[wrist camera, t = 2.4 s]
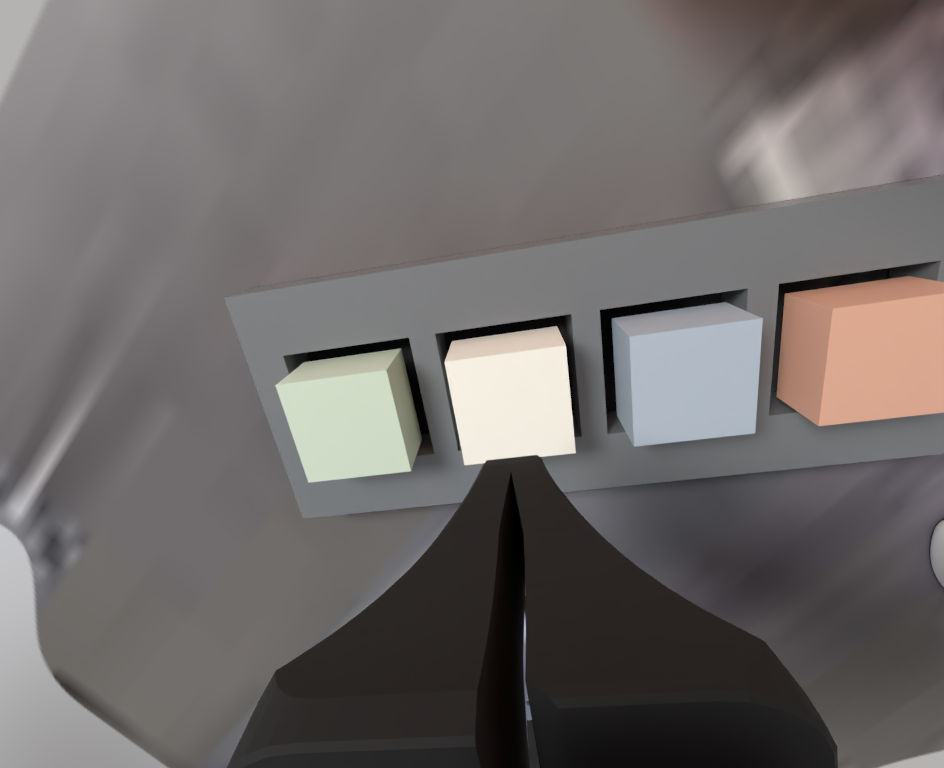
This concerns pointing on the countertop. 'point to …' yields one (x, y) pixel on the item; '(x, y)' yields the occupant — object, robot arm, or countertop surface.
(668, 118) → the countertop surface
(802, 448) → the grey slotted tray
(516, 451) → the cream key
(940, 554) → the eye dropper bottle
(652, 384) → the slate key
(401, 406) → the sage key
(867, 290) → the terracotta key
